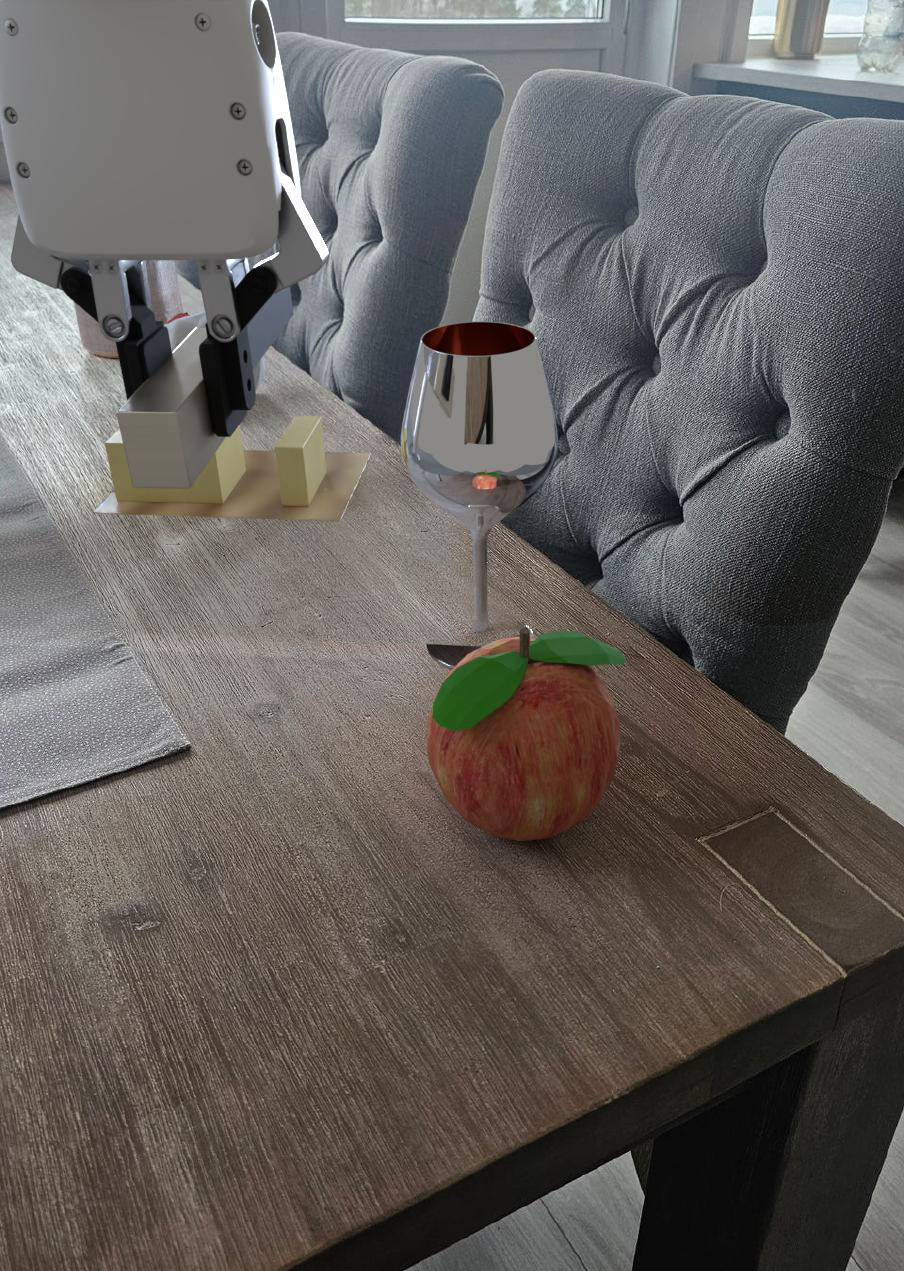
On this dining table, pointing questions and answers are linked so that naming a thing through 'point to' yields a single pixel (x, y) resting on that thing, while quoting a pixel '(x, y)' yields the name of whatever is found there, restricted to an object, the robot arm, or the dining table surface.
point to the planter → (162, 303)
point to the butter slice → (301, 460)
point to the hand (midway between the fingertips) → (196, 421)
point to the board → (263, 493)
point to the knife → (185, 407)
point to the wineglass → (478, 436)
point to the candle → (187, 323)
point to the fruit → (526, 734)
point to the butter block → (206, 489)
